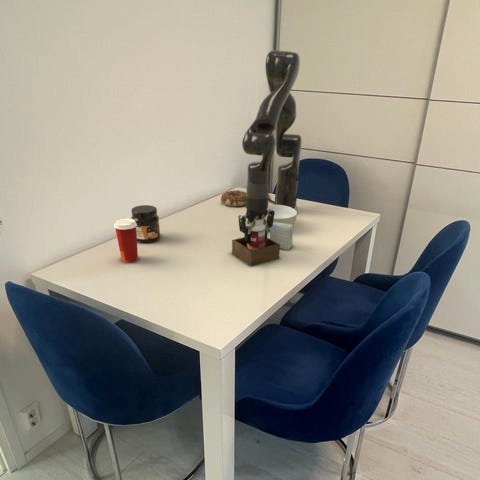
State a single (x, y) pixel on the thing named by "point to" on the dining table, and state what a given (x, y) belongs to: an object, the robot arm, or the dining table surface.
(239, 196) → the donut
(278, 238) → the medicine box
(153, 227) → the supplement container
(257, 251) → the crate
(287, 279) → the dining table surface
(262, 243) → the pill bottle
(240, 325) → the dining table surface
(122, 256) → the paper cup
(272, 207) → the cereal bowl
